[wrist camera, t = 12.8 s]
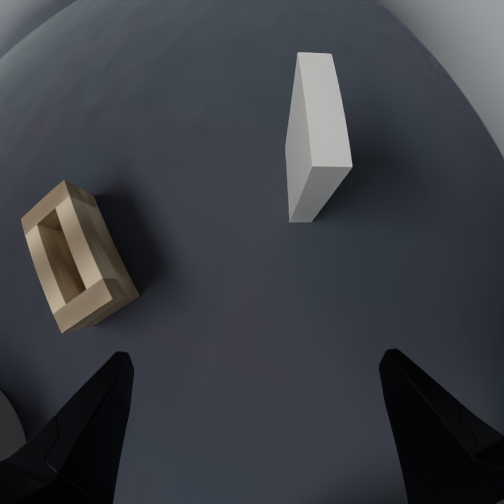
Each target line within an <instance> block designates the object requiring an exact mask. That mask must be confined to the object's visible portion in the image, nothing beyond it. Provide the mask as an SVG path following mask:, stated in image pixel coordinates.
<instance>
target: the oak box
mask: <svg viewBox="0 0 504 504" xmlns="http://www.w3.org/2000/svg"><path fill="white" fill-rule="evenodd" d="M21 221H22V225H23V229H24V232H25V236H26V239H27V243H28V246H29V250H30V253H31V256H32V259H33V262H34V265H35V268H36V271H37V274H38V277H39V280H40V282H41V285H42V288H43V290H44V293H45V295H46V298H47V300H48V303H49V305H50V308H51V310H52V313H53V315H54V317H55V319H56V322H57V324H58V326H59V328H60V331H61V333H65V332H70V331H74V330H79V329H83V328H87V327H92V326H94V325H96V324H98V323H99V322H101V321H102V320H104V319H105V318H107V317H108V316H110V315H112V314H113V313H115V312H116V311H118V310H119V309H121V308H123V307H124V306H126V305H127V304H129V303H130V302H132V301H134V300H135V299H137V298H138V297H140V295H139V293H138V291H137V289H136V288H135V286H134V284H133V282H132V280H131V278H130V276H129V274H128V272H127V270H126V268H125V266H124V263H123V261H122V259H121V257H120V255H119V253H118V251H117V249H116V247H115V244H114V242H113V240H112V238H111V236H110V233H109V231H108V229H107V226H106V224H105V222H104V219H103V217H102V215H101V212H100V210H99V208H98V205H97V203H96V200H95V198H94V195H92V194H90V193H88V192H86V191H84V190H82V189H80V188H79V187H77V186H75V185H73V184H71V183H69V182H67V181H65V180H63V181H62V182H61V183H60V184H59V185H58V186H56V187H55V188H54V189H53V190H52V191H51V192H50V193H49V194H47V195H46V196H45V197H44V198H43V199H42V200H41V201H40V202H39V203H38V204H36V205H35V206H34V207H33V208H32V209H31V210H30V211H29V212H28V213H27V214H26V215H25V216H24V217H23V218H22V219H21Z"/></svg>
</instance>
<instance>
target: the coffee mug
mask: <svg viewBox="0 0 504 504" xmlns="http://www.w3.org/2000/svg"><path fill="white" fill-rule="evenodd" d="M25 443H26V439H25V434H24V431H23V427H22V425H21V422H20V420H19V418H18V416H17V414H16V412H15V410H14V408H13V407H12V405H11V403H10V402H9V401H8V399H7V398H6V396H5V395H4V394H3V393H2V392H1V391H0V461H2V460H4V459H6V458H8V457H9V456H11V455H12V454H13V453H14V452H16V451H17V450H18V449H19V448H20V447H22V446H23V445H24V444H25Z"/></svg>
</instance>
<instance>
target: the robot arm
mask: <svg viewBox="0 0 504 504" xmlns="http://www.w3.org/2000/svg"><path fill="white" fill-rule="evenodd" d="M379 372H380V377H381V383H382V389H383V395H384V400H385V405H386V409H387V413H388V417H389V420H390V424H391V428H392V432H393V436H394V440H395V444H396V448H397V452H398V456H399V460H400V465H401V469H402V474H403V478H404V483H405V488H406V493H407V499H408V504H504V436H503V435H502V434H500V433H499V432H497V431H496V430H494V429H493V428H492V427H490V426H489V425H487V424H486V423H485V422H483V421H482V420H481V419H479V418H478V417H477V416H475V415H474V414H473V413H472V412H471V411H469V410H468V409H467V408H466V407H465V406H464V405H462V404H460V402H459V401H458V400H457V399H456V398H454V397H453V396H452V395H451V394H450V393H449V392H447V391H446V390H445V389H444V388H443V387H442V386H441V385H439V384H438V383H437V382H436V381H435V380H434V379H432V378H431V377H430V376H429V375H428V374H427V373H425V372H424V371H423V370H422V369H421V368H420V367H418V366H417V365H416V364H415V363H414V362H413V361H411V360H410V359H409V358H408V357H407V356H406V355H404V354H403V353H402V352H401V351H400V350H398V349H388V350H387V351H386V352H385V354H384V356H383V358H382V360H381V362H380V364H379ZM133 378H134V367H133V364H132V361H131V359H130V356H129V354H128V353H127V352H120V351H117V352H115V353H114V354H113V355H112V356H111V357H110V358H109V359H108V360H107V361H106V362H105V364H104V365H103V366H102V367H101V368H100V369H99V370H98V371H97V372H96V373H95V374H94V375H93V376H92V377H91V378H90V379H89V380H88V381H87V382H86V383H85V384H84V385H83V386H82V387H81V388H80V389H79V390H78V391H77V392H76V393H75V394H74V396H73V397H72V398H71V399H70V400H69V401H68V402H67V403H66V404H65V405H64V406H63V407H62V408H61V409H60V410H59V411H58V412H57V413H56V416H54V417H53V418H52V419H51V420H50V421H49V422H48V423H47V424H46V425H45V426H44V427H43V428H42V429H41V430H40V431H39V432H38V433H37V434H35V435H34V436H33V437H32V438H31V439H30V440H29V441H27V442H26V443H25V444H24V445H23V446H22V447H20V448H19V449H18V450H17V451H16V452H14V453H13V454H12V455H11V456H9V457H8V458H6V459H4V460H2V461H0V504H113V499H114V492H115V486H116V480H117V474H118V468H119V462H120V457H121V451H122V446H123V441H124V436H125V431H126V426H127V422H128V417H129V412H130V405H131V395H132V386H133Z"/></svg>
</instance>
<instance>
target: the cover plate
mask: <svg viewBox="0 0 504 504" xmlns="http://www.w3.org/2000/svg"><path fill="white" fill-rule="evenodd" d="M285 152H286V167H287V183H288V200H289V220H290V223H295V222H312V221H313V219H314V218H315V217H316V215H317V214H318V213H319V211H320V210H321V209H322V207H323V206H324V205H325V203H326V202H327V201H328V199H329V198H330V197H331V195H332V194H333V193H334V191H335V190H336V189H337V187H338V186H339V185H340V183H341V182H342V181H343V179H344V178H345V177H346V175H347V174H348V173H349V171H350V170H351V169H352V159H351V152H350V145H349V139H348V133H347V127H346V121H345V115H344V110H343V105H342V100H341V95H340V90H339V85H338V80H337V76H336V71H335V67H334V63H333V59H332V55H331V54H323V53H302V52H298V54H297V62H296V70H295V78H294V86H293V94H292V101H291V109H290V116H289V123H288V131H287V138H286V145H285Z"/></svg>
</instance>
